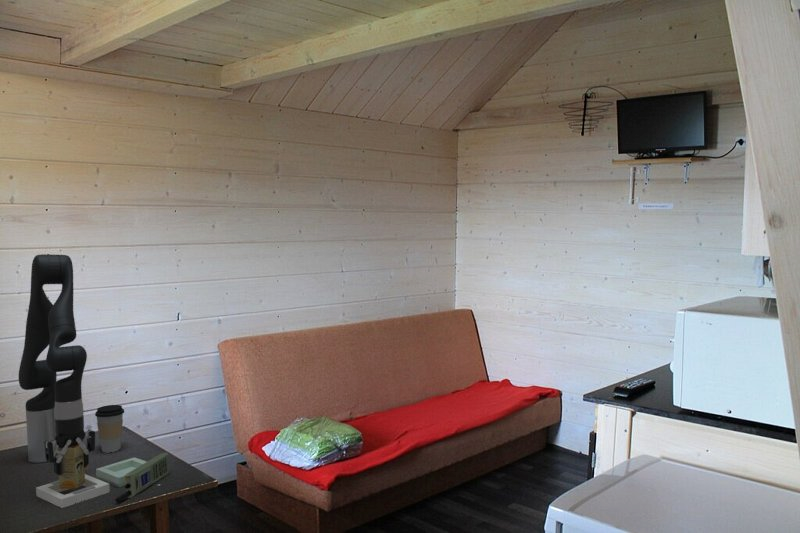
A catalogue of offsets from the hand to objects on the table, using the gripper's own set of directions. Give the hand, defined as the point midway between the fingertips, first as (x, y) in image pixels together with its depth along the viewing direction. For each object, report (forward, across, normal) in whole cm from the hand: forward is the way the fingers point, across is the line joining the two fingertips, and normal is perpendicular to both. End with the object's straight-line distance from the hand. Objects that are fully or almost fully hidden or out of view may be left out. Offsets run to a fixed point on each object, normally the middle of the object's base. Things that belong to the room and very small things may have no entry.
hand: (71, 470), depth 201 cm
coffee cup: (+7, -28, -28) cm, 40 cm away
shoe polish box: (+5, 0, 0) cm, 5 cm away
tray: (+7, -17, 0) cm, 18 cm away
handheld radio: (+7, -15, +13) cm, 21 cm away
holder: (+7, 0, 0) cm, 7 cm away
